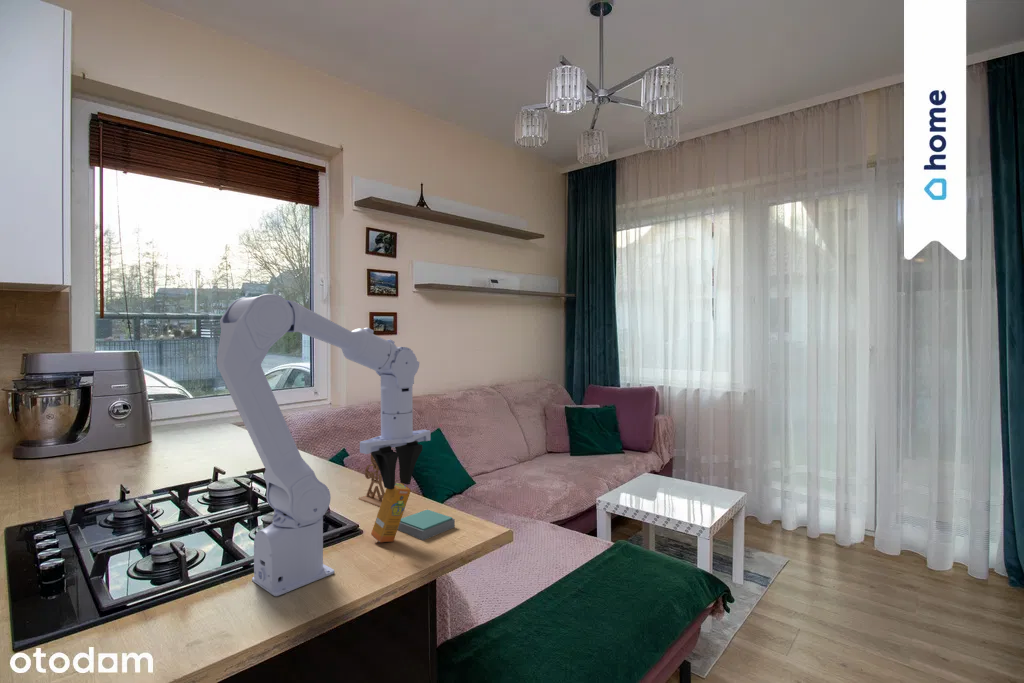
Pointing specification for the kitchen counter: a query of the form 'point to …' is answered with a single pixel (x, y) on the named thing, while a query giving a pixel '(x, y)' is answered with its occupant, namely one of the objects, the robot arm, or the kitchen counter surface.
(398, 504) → the supplement box
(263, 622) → the kitchen counter surface
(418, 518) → the podium
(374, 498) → the brown upright openwork piece
